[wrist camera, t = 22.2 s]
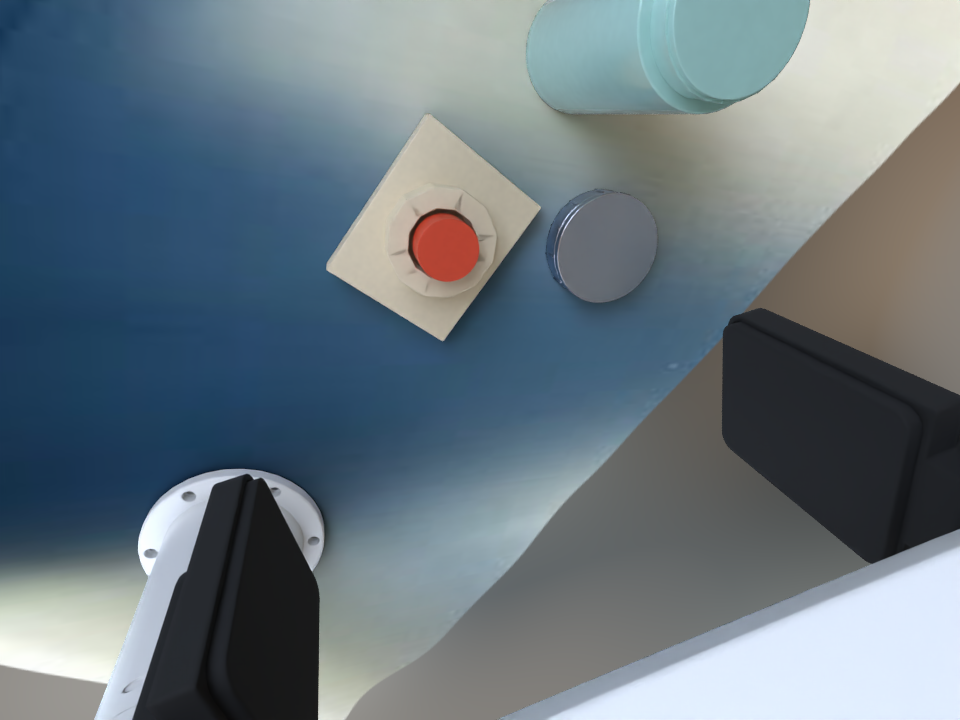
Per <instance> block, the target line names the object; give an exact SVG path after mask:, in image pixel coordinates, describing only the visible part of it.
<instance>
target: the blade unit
mask: <svg viewBox="0 0 960 720" xmlns="http://www.w3.org/2000/svg"><path fill="white" fill-rule="evenodd" d="M657 245H658V233H657V227H656V223H655V220H654V218H653V216H652V214H651V212H650V211H649V209H648V208H647V207H646V206H645V204H643V203H642V202H641V201H640V200H638V199H636V198H635V197H632V196H630V195H629V194H626V193H622V192H620V193H619V192H616V191H612V190H605V189H595V190H592V191H588V192H585V193H583V194H581V195H579V196H577V197H575V198H574V199H572V200H570V201H569V203H567V204H566V205H565V206H564V207H563V208H562V210H561V211H560V212H559V213H558V215H557V216H556V218H555V220H554V221H553V223H552V224H551V228H550V231H549V234H548V238H547V245H546V255H547V261H548V265H549V268H550V270H551V273H552V274H553V276H554V277H553V278H554V279H555V280H557V281H558V282H559V283H560V284H561V285H562V286H563V287H565V288H566V289H567V290H569V291H570V292H571V293H573V294H574V295H576V296H577V297H578V298H581V299H583V300H586V301H589V302H596V303H602V302H609V301H613V300H616V299H618V298H621V297H623V296H625V295H626V294H628V293H629V292H631V291H632V290H633V289H634V288H636V287H637V286H638V285H639V284H640V283H641V281H642V280H643V279H644V278H645V276H646V275H647V273H648V272H649V270H650V268H651V266H652V264H653V262H654V259H655V256H656V251H657Z"/></svg>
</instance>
